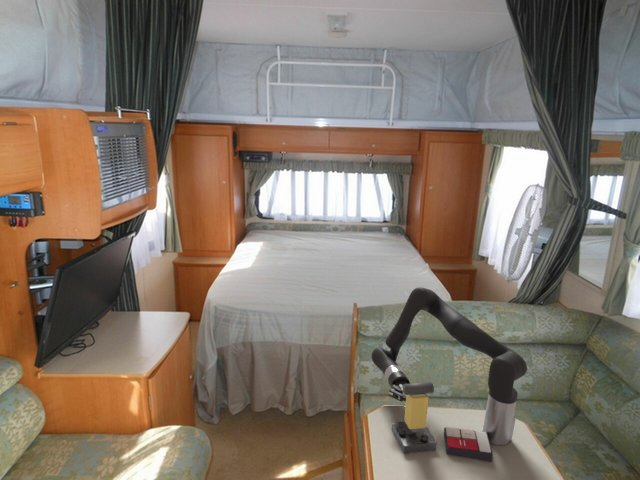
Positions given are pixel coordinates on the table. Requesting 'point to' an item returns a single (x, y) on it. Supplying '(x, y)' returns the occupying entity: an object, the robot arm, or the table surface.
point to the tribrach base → (413, 438)
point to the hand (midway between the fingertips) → (413, 405)
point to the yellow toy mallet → (416, 404)
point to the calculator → (467, 444)
